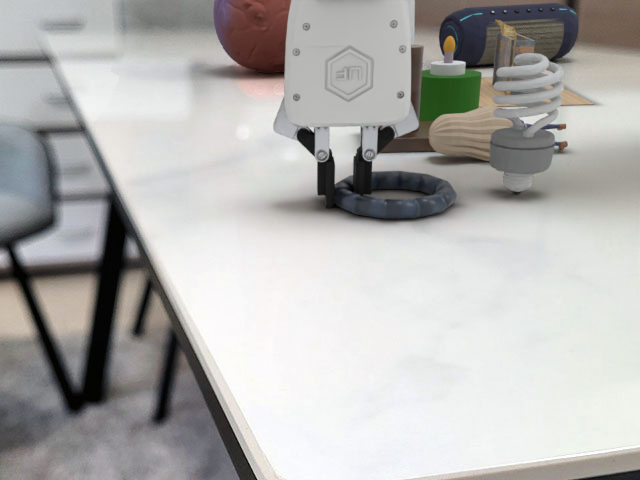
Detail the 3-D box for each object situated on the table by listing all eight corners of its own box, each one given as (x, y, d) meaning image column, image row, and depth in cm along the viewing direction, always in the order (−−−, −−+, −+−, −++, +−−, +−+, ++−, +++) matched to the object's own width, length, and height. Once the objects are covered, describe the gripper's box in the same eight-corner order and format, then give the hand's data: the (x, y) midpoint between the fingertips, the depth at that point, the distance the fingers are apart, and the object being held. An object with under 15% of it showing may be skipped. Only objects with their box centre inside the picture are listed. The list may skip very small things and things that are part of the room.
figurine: (553, 114, 86) (420, 113, 84) (575, 101, 82) (435, 100, 79) (557, 167, 85) (423, 168, 83) (580, 156, 81) (439, 157, 79)
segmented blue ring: (442, 185, 74) (443, 168, 73) (465, 219, 65) (466, 200, 64) (329, 187, 75) (330, 170, 74) (336, 222, 65) (336, 203, 65)
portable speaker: (457, 71, 138) (462, 10, 134) (431, 64, 147) (435, 7, 143) (585, 62, 143) (593, 3, 139) (552, 56, 152) (559, 0, 148)
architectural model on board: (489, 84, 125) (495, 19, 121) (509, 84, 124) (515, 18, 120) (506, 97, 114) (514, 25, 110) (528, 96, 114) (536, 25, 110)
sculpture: (298, 61, 157) (298, -50, 149) (346, 74, 140) (349, -51, 131) (202, 69, 151) (196, -46, 143) (239, 84, 133) (235, -47, 125)
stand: (437, 133, 94) (444, 40, 90) (452, 151, 86) (459, 49, 82) (361, 134, 95) (363, 42, 91) (368, 152, 87) (371, 52, 82)
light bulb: (561, 200, 68) (581, 55, 64) (497, 204, 68) (512, 58, 63) (534, 183, 74) (550, 47, 69) (474, 186, 73) (486, 50, 68)
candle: (444, 126, 98) (450, 41, 94) (398, 116, 104) (402, 36, 100) (491, 117, 101) (499, 35, 97) (444, 108, 108) (449, 31, 104)
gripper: (245, -19, 60) (251, 217, 67) (460, -26, 59) (442, 214, 66) (249, -22, 66) (254, 192, 74) (442, -28, 65) (427, 189, 73)
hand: (343, 201), depth 70 cm, fingers closed on segmented blue ring, 2 cm apart
